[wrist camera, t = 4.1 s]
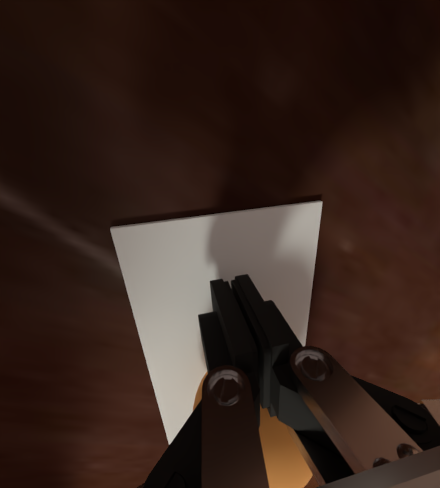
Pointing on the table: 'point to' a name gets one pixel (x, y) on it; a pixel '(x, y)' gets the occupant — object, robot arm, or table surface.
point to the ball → (277, 451)
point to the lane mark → (198, 285)
